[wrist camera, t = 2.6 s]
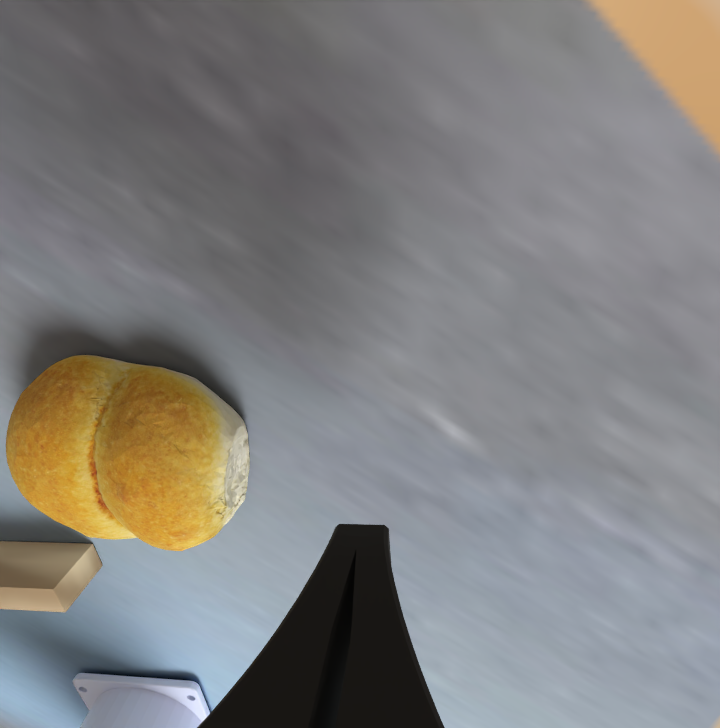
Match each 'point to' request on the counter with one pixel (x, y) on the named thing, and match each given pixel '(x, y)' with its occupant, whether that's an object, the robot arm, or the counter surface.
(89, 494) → the bread roll
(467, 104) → the counter surface
